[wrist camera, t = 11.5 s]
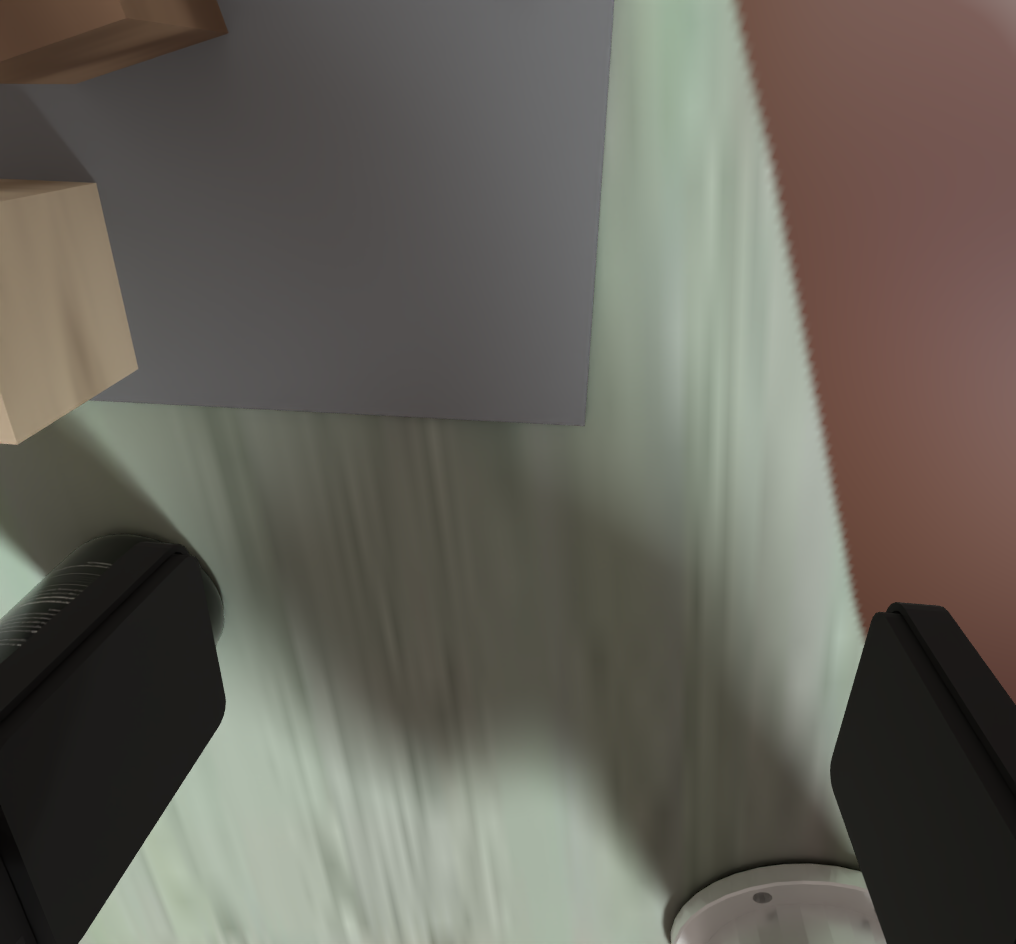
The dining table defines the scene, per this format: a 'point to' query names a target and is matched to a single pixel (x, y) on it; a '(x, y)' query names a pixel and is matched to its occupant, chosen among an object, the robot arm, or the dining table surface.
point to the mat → (348, 205)
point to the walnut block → (96, 35)
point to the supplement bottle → (72, 580)
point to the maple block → (56, 305)
